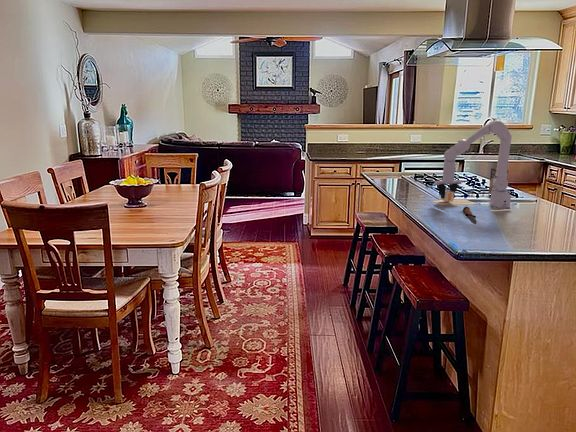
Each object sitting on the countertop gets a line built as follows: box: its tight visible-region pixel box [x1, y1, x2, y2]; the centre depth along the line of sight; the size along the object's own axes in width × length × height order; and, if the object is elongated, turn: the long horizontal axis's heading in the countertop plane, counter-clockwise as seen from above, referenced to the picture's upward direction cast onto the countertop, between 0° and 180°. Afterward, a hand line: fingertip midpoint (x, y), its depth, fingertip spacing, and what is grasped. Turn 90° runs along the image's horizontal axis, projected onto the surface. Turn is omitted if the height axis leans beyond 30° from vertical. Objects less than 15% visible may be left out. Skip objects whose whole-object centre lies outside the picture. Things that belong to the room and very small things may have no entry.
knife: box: [462, 206, 477, 225], centre depth 209 cm, size 25×3×5 cm
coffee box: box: [488, 167, 509, 194], centre depth 259 cm, size 9×6×16 cm
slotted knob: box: [439, 189, 455, 201], centre depth 239 cm, size 6×4×5 cm
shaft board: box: [429, 198, 478, 207], centre depth 240 cm, size 16×20×4 cm
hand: (446, 198), depth 239 cm, fingers closed on slotted knob, 4 cm apart
